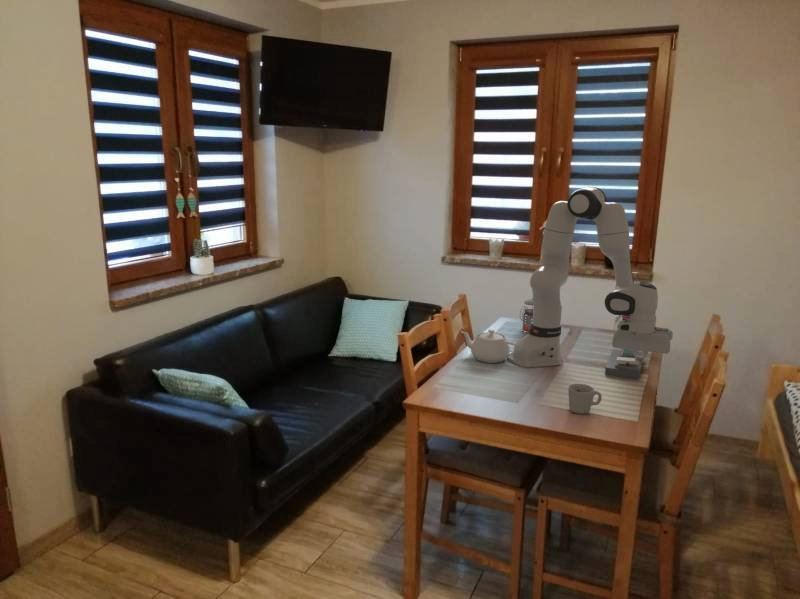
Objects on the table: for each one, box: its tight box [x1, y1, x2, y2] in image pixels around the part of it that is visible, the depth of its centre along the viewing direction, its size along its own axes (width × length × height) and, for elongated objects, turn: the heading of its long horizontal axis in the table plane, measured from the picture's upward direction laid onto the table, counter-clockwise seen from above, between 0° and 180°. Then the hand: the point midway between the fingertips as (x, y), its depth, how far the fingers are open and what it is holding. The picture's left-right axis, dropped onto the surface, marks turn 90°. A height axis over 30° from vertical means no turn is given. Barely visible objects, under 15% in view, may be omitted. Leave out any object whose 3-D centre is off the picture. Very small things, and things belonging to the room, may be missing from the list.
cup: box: [568, 383, 602, 415], centre depth 193 cm, size 11×8×8 cm
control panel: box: [604, 349, 644, 381], centre depth 234 cm, size 24×12×6 cm, turn 155°
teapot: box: [460, 329, 519, 364], centre depth 242 cm, size 25×16×12 cm, turn 60°
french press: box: [519, 298, 534, 332], centre depth 279 cm, size 10×12×25 cm
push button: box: [623, 349, 637, 356], centre depth 233 cm, size 4×4×3 cm
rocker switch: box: [616, 357, 640, 366], centre depth 226 cm, size 4×8×2 cm, turn 65°
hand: (639, 361), depth 224 cm, fingers closed, pressing on rocker switch
